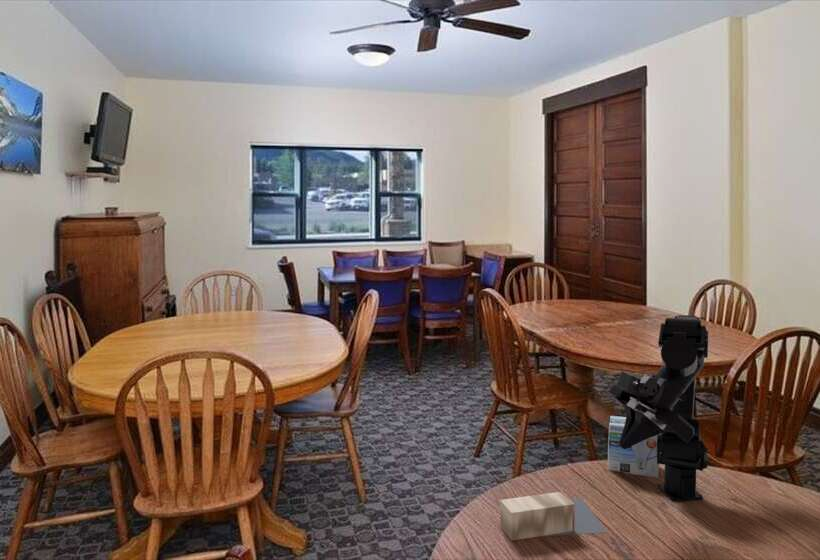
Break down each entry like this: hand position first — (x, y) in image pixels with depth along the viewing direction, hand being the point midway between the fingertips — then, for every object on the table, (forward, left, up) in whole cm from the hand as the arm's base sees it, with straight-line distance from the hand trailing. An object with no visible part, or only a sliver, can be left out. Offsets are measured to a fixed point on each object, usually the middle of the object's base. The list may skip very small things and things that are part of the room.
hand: (621, 447), depth 110 cm
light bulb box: (-21, +12, -14) cm, 27 cm away
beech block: (+2, -11, -10) cm, 15 cm away
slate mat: (-1, -13, -13) cm, 18 cm away
